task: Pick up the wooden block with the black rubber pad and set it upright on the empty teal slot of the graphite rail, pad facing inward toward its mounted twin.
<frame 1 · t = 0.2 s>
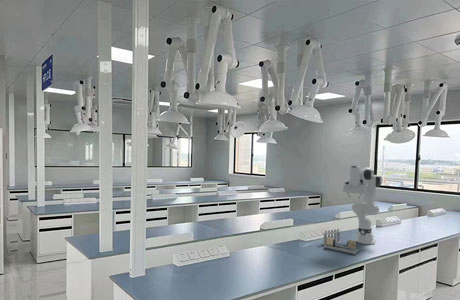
hand: (354, 197, 291), 47 cm above the table, fingers open, 8 cm apart
rail: (341, 250, 284), on the table
wooden block: (351, 249, 287), on the table
test tube rack: (331, 243, 307), on the table
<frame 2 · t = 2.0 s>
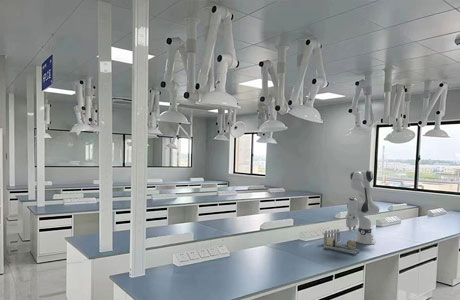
hand: (352, 230, 287), 17 cm above the table, fingers open, 8 cm apart
nothing on the table moved.
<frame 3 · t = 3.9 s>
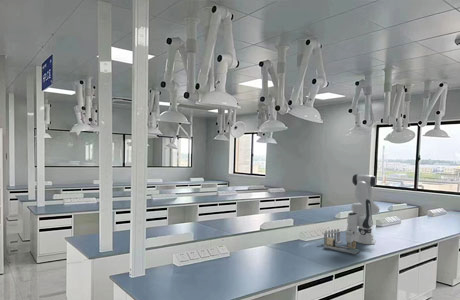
hand: (351, 245, 287), 4 cm above the table, fingers closed on wooden block, 4 cm apart
wooden block: (351, 249, 287), on the table, touching gripper
everything else where it was.
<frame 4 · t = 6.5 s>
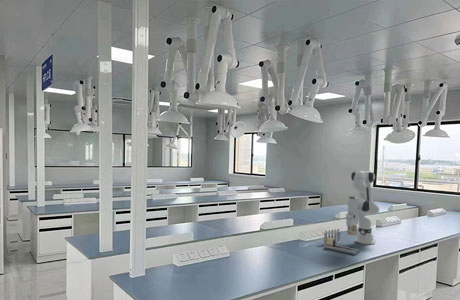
hand: (352, 230, 278), 20 cm above the table, fingers closed on wooden block, 4 cm apart
wooden block: (352, 234, 277), point 16 cm above the table, touching gripper
everything else where it was.
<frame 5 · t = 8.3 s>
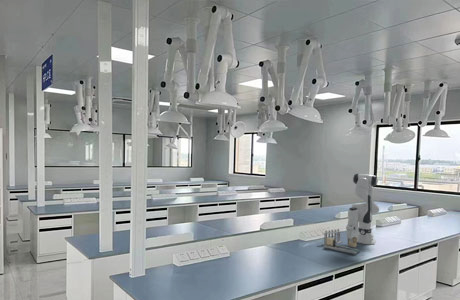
hand: (352, 242, 277), 10 cm above the table, fingers closed on wooden block, 4 cm apart
wooden block: (352, 246, 277), point 6 cm above the table, touching gripper
everything else where it was.
when the fingers open (6 cm above the table, at t = 9.5 s): wooden block stays where it is, resting on rail.
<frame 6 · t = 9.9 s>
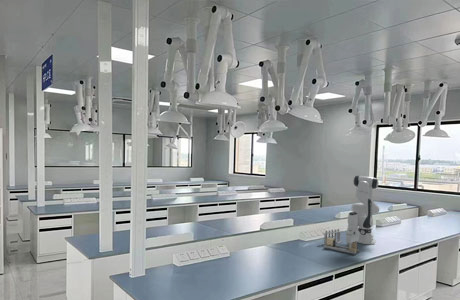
hand: (352, 246, 277), 6 cm above the table, fingers open, 8 cm apart
wooden block: (352, 251, 277), point 1 cm above the table, touching rail
everything else where it was.
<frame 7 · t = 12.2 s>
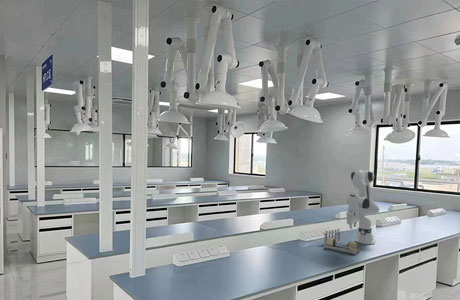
hand: (352, 227, 279), 22 cm above the table, fingers open, 8 cm apart
nothing on the table moved.
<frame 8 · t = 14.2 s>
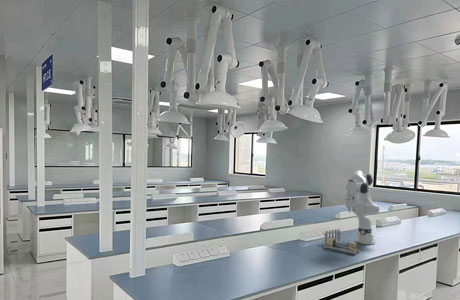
hand: (351, 211, 291), 34 cm above the table, fingers open, 8 cm apart
nothing on the table moved.
at the end: wooden block 0.1 cm from the target spot on the rail, point 1.1 cm above the rail's base; wooden block tilted 0°; the gripper is holding nothing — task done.
